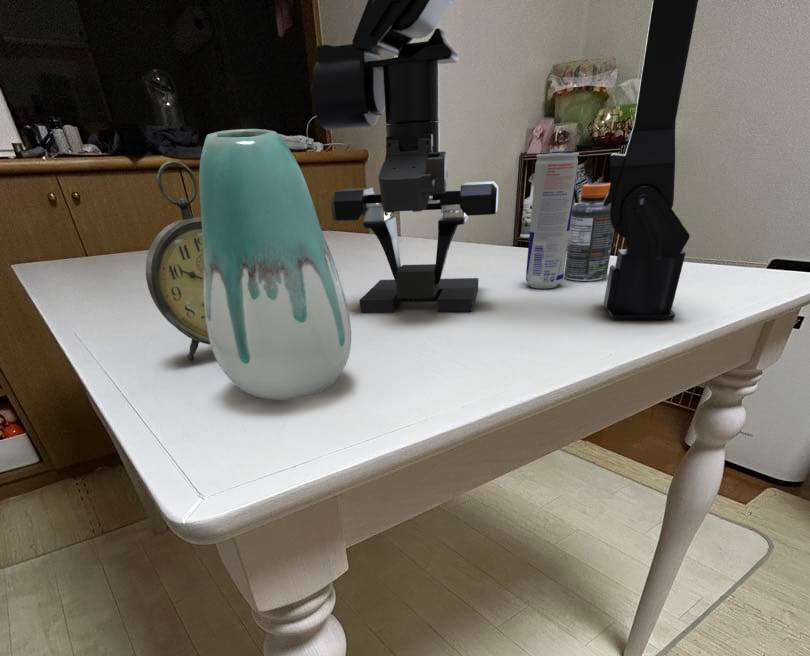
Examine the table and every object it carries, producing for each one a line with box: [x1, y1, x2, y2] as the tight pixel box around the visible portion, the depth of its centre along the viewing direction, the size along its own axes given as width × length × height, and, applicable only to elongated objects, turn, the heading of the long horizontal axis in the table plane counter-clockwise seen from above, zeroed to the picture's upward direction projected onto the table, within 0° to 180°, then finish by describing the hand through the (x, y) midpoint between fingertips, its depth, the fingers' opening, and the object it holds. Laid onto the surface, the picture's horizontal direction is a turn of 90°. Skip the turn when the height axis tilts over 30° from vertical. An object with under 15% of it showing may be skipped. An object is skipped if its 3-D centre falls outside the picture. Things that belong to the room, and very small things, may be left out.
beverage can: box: [525, 150, 580, 290], centre depth 67 cm, size 5×5×15 cm
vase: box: [198, 128, 352, 401], centre depth 40 cm, size 12×12×18 cm
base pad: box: [359, 277, 479, 314], centre depth 68 cm, size 14×12×2 cm
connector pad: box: [396, 263, 439, 299], centre depth 64 cm, size 5×5×3 cm
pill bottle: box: [564, 182, 615, 282], centre depth 71 cm, size 6×6×11 cm
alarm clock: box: [145, 160, 211, 362], centre depth 50 cm, size 11×5×16 cm, turn 122°
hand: (417, 283), depth 64 cm, fingers closed on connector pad, 5 cm apart
